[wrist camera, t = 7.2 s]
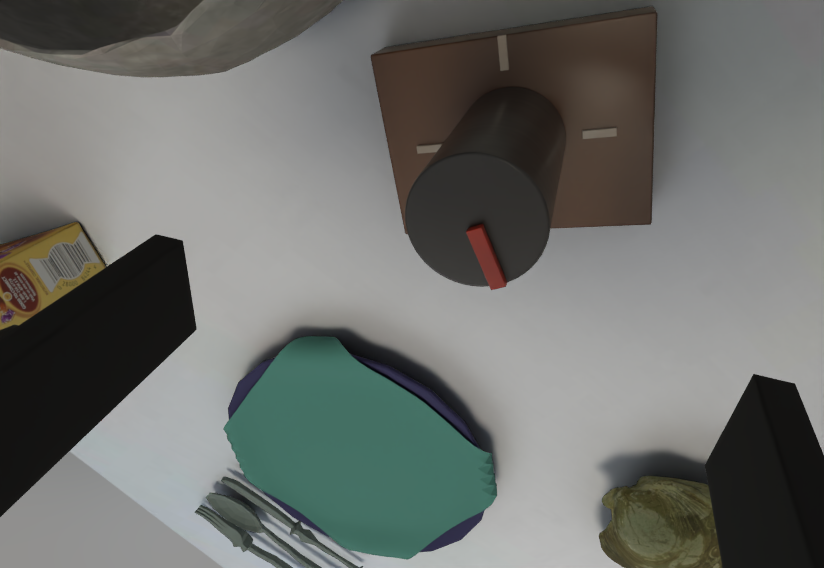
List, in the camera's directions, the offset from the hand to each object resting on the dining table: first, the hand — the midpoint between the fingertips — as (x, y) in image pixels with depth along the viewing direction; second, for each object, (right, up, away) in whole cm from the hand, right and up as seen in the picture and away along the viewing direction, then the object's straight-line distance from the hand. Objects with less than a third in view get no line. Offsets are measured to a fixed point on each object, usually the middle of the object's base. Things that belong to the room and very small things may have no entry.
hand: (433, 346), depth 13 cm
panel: (+5, +9, +14) cm, 18 cm away
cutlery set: (-7, -13, +32) cm, 36 cm away
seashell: (+17, -14, +25) cm, 33 cm away
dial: (+4, +8, +13) cm, 16 cm away
